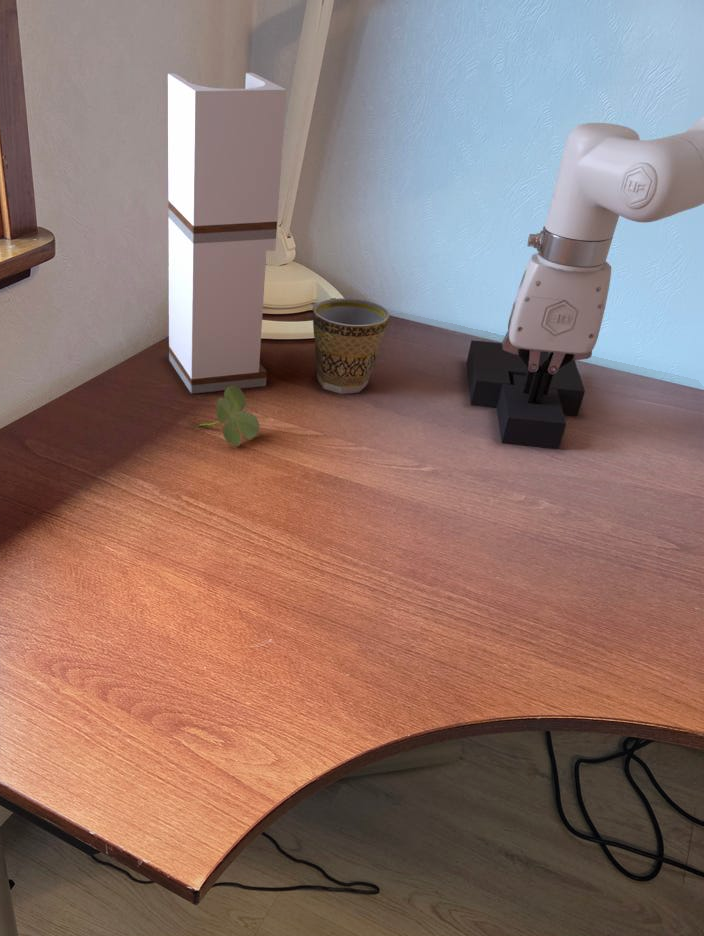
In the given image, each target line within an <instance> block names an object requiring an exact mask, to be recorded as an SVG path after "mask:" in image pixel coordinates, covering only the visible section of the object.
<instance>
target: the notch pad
mask: <svg viewBox="0 0 704 936" xmlns="http://www.w3.org/2000/svg"><path fill="white" fill-rule="evenodd" d="M548 354H549V352H545V351H540V359H539V364H540V366H541V365H542V364H543V363H544V362H545V361H546V359H547V356H548ZM465 363H466V373H467V383H468V392H469V393H468V394H469V402H470V406H477V407H479V406H480V407H488V408H489V407H490V408H496V409H497V404H498V400H499V396H500V392H501V388H502V384H510V385H511V383H512V379H513V375H524V376H525V375H526V371H527V366H526V364H525V363H524V362H523V360H522V359H521V357H520V356H519V355H515V354H512V353H510V352H507V351H504V350H503V349H502V342H492V341H483V340H470V344H469V351H468V355H467V358H466V362H465ZM549 388H550V389H557V391H558V395H559V399H560V402H561V406H562V409H563V413H564V416H574V417H575V416H576V417H577V416H578V415H579V412H580V408H581V405H582V402H583V399H584V396H585V393H586V389H585V387H584V383H583V381H582V378H581V375H580V372H579V369H578V365H577V363H576V360H572V361H570V362H569V363H567V364H566V365H564V366H563V367H561V368H560V369H558V371H557V372H556V373H555V374H553V377H552V380H551V384H550V387H549ZM578 417H579V416H578Z"/></svg>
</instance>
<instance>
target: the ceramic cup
mask: <svg viewBox="0 0 704 936" xmlns="http://www.w3.org/2000/svg"><path fill="white" fill-rule="evenodd" d="M389 319H390V313H389V311H388V310H387V309H386V308H385V307H383V306H381V305H379V304H378V303H375V302H373V301H368V300H365V299H358V298H347V297H345V298H344V297H341V298H335V297H332V298H330V299H326V300H323V301H320V302H318V303H316V304H315V305H314V306H313V308H312V327H313V337H314V338H313V339H314V349H315V361H316V362H315V363H316V375H317V377H316V378H317V381H318V383H319V384H320V385H321V387H322V388H323V389H324V390H327V391H329V392H332V393H333V392H334V393H336V394H341V395H345V394H346V395H347V394H358V393H360V392H361V391H362V390H363V389H365V388H366V387H367V385H368V383H369V380H370V379H371V378H370V377H371V374H372V371H373V368H374V365H375V363H376V359H377V356H378V353H379V350H380V347H381V344H382V341H383V339H384V336H385V333H386V330H387V326H388V323H389Z"/></svg>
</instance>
